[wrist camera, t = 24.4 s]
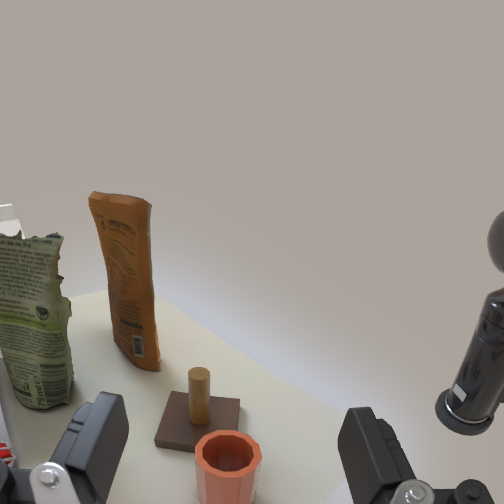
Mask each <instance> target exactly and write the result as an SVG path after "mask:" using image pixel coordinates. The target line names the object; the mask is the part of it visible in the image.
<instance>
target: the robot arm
mask: <svg viewBox="0 0 504 504" xmlns="http://www.w3.org/2000/svg"><path fill="white" fill-rule="evenodd" d="M487 246H488V252H489V256H490V259H491V261H492V263H493V264H494V266H495V267H496V268H497V269H498V270H499V271H500V272H501V273H503V274H504V211H503V212H501V213H500V214H499V215H498V216H497V217H496V218H495V219H494V221H493V222H492V224H491V226H490V229H489V232H488V237H487ZM500 403H504V287H503V288H501V289H498V290H495V291H492V292H490V293H489V294H488V295H487V296H486V298H485V300H484V303H483V307H482V310H481V313H480V316H479V319H478V322H477V325H476V328H475V331H474V334H473V336H472V339H471V342H470V344H469V347H468V349H467V352H466V355H465V357H464V359H463V362H462V364H461V366H460V369H459V371H458V373H457V375H456V378H455V380H454V382H453V384H452V386H451V388H450V390H449V392H448V394H447V396H446V398H445V400H444V406H445V409H446V411H447V412H448V414H449V415H450V416H451V417H452V418H454V419H455V420H457V421H459V422H461V423H464V424H468V425H478V424H481V423H483V422H484V421H486V420H491V418H492V416H493V415H494V413H495V411H496V410H497V408H498V406H499V404H500ZM128 433H129V423H128V419H127V415H126V410H125V406H124V401H123V397H122V396H121V395H118V394H113V393H108V392H103V391H102V392H100V393H99V395H98V397H97V398H96V400H95V402H94V403H89V402H86V403H85V404H84V405H83V406H81V407H80V408H79V409H78V410H77V411H76V413H75V414H74V416H73V418H72V420H71V422H70V423H69V425H68V427H67V430H66V431H65V433H64V434H63V436H62V438H61V440H60V442H59V444H58V446H57V447H56V449H55V451H54V453H53V455H52V457H51V459H50V460H49V461H48V462H44V463H40V464H38V465H37V466H35V467H34V468H33V469H32V470H30V469H19V468H10V467H8V466H7V464H6V463H5V462H4V460H2V459H1V458H0V504H106V501H107V498H108V494H109V491H110V488H111V485H112V482H113V479H114V476H115V473H116V470H117V467H118V464H119V461H120V458H121V456H122V453H123V450H124V447H125V444H126V441H127V438H128ZM338 450H339V454H340V457H341V461H342V464H343V468H344V471H345V474H346V478H347V481H348V484H349V488H350V492H351V495H352V499H353V503H354V504H494V502H493V499H492V497H491V496H490V493H489V491H488V490H487V488H486V486H485V485H484V484H483V483H481V482H480V481H478V480H473V479H469V480H465V481H463V482H462V483H460V484H459V485H458V486H457V488H456V489H432V487H431V486H430V485H429V484H427V483H426V482H424V481H422V480H417V479H416V477H415V475H414V473H413V470H412V468H411V466H410V464H409V462H408V460H407V458H406V456H405V453H404V451H403V449H402V448H401V445H400V443H399V441H398V440H397V437H396V435H395V433H394V431H393V429H392V427H391V426H390V425H389V424H387V422H386V421H384V420H383V419H376V417H375V415H374V413H373V411H372V409H371V408H370V407H358V408H349V410H348V411H347V414H346V416H345V419H344V422H343V425H342V427H341V430H340V433H339V436H338Z"/></svg>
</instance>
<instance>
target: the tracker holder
mask: <svg viewBox="0 0 504 504" xmlns="http://www.w3.org/2000/svg"><path fill="white" fill-rule="evenodd" d="M11 449H12V448H11V447H9V445H8V443H7V442H6V441H0V458H1V459H2V460H4V462H5V463H6V464H7V465H8V464H9V463H10V462H11V461H12V460H16V457H15V455H14V454H13V452H12V450H11Z"/></svg>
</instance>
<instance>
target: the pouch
mask: <svg viewBox="0 0 504 504" xmlns="http://www.w3.org/2000/svg"><path fill="white" fill-rule="evenodd" d="M63 239H64V237H63V236H60V235H59V234H58V233H53V234H50V235H47V236H46V237H44V238H39V237H36V236H34V237H31V238H28V239H22V232H21V230H19V232H18V233H17V235H16V236H15V235H14V236H12V237H11V236H7V235H5V234H3V233H0V349H1V353H2V356H3V359H4V363H5V366H6V369H7V372H8V375H9V378H10V381H11V383H12V386H13V389H14V392H15V394H16V397H17V398H18V399H19V400H20V402H21V403H22V404H24V405H26V406H28V407H30V408H37V409H47V408H49V407H52V406H55V405H57V404H60V403H67V404H68V403H69V400H70V387H71V381H72V379H74V377H73V375H74V372H73V365H72V357H71V349H70V346H69V342H68V338H67V325H68V319H69V317H71V316H72V312H71V302H70V301H69V300H68V298H66V297H62V296H61V290H60V284H61V283H62V279H64V278H63V277H62V276H60V275H58V260H59V259H60V255H59V251H60V247H61V244H62V241H63Z"/></svg>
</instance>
